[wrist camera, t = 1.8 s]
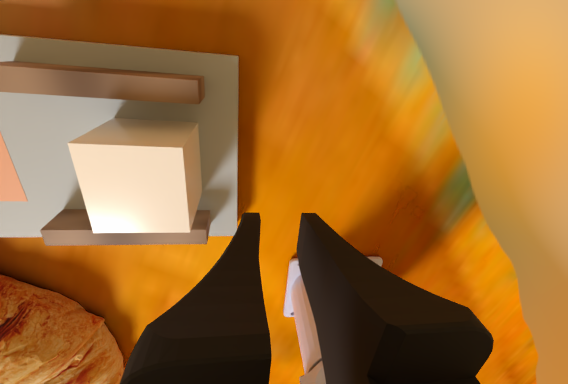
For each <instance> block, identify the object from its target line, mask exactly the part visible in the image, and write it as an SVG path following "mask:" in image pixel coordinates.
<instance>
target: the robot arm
mask: <svg viewBox="0 0 568 384" xmlns="http://www.w3.org/2000/svg"><path fill="white" fill-rule="evenodd" d="M260 223H261V220H260V215H259V213H244V214H243V215H242V218H241V222H240V224H239V226H238V229H237V231H236V233H235V235H234V237H233V238H232V240H231V242H230V244H229V245H228V247H227V248H226V250H225V251H224V253H223V254H222V256H221V257H220V259H219V260H218V261H217V263H216V264H215V265H214V266H213V267H212V269H211V270H210V271H209V272H208V273H207V274H206V275H205V277H204V278H203V279H202V280H201V281H200V282H199V283H198V284H197V285H196V286H195V287H194V288H193V289H192V290H191V291H190V292H189V293H187V294H186V295H185V296H184V297H183V298H182V299H181V300H180V301H179V302H177V303H176V304H175V305H174V306H173V307H171V308H170V309H169V310H167V311H166V312H165V313H163V314H162V315H161V316H160V317H158V318H157V319H156V320H154V321H153V322H151V323H150V324H148V325H147V326H146V328H145V329H144V331H143V333H142V335H141V336H140V338H139V340H138V342H137V344H136V345H135V347H134V349H133V351H132V353H131V355H130V357H129V360H128V362H127V365H126V367H125V370H124V373H123V375H122V378H121V381H120V384H269V376H270V366H271V344H270V333H269V328H268V323H267V317H266V311H265V305H264V299H263V291H262V284H261V276H260V266H259V241H260ZM297 256H298V258H293V259H291V260H290V262H289V270H288V278H287V286H286V294H285V303H284V311H283V312H284V316H286V317H295V323H296V328H297V334H298V339H299V344H300V350H301V355H302V361H303V366H304V372H305V375H303V376H301V377H300V384H480V383H479V381H478V380H477V378H476V377H475V376H476V374H477V373H478V372H479V370H480V369H481V367H482V366H483V365H484V363H485V362H486V360H487V359H488V358H489V356H490V354H491V352H492V349H493V341H494V340H493V338H492V335H491V333H490V332H489V331H488V330H487V329H486V328H485V326H484V325H483V324H482V323H481V322H480V321H479V319H478V318H477V317H476V316H475V315H474V314H473V312H472V311H471V310H470V309H469V308H468V307H465V306H463V305H460V304H457V303H455V302H452V301H450V300H447V299H445V298H442V297H440V296H437V295H435V294H432V293H430V292H428V291H426V290H424V289H422V288H419V287H417V286H415V285H413V284H411V283H409V282H407V281H405V280H403V279H402V278H400V277H398V276H396V275H394V274H393V273H391V272H389V271H387V270H386V269H384V268H382V267H381V266H382V263H383V260H382V258H381V257H366V256H364V255H363V254H362V253H360V252H359V251H358V250H356V249H355V248H354V247H353V246H351V245H350V244H349V243H348V242H346V241H345V240H344V239H343V238H342V237H341V236H339V235H338V234H337V233H336V232H335V231H334V230H333V229H332V228H331V227H330V226H329V225H328V224H326V223H325V222H324V221H323V220H322V219H321V218H320V217H319V216H318V215H317V214H316V213H302V214H301V221H300V229H299V236H298V243H297ZM298 263H299V264H298Z"/></svg>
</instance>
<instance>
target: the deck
mask: <svg viewBox="0 0 568 384" xmlns="http://www.w3.org/2000/svg"><path fill="white" fill-rule="evenodd" d="M5 61H21V62H33V63H46V64H59V65H71V66H84V67H97V68H109V69H122V70H135V71H147V72H160V73H173V74H185V75H198V76H204V86H205V98H204V99H203V100H202V101H201V103H200V104H183V103H167V102H151V101H136V100H120V99H104V98H88V97H73V96H57V95H41V94H25V93H10V92H0V237H42V235H41V232H40V230H41V229H42V228H43V227H44V226H45V225H46V224H47V223H48V222H49V221H51V220H52V219H53V218H54V217H55V216H56V215H57V214H58V213H60V212H61V211H62V210H63V209H86V206H85V202H84V199H83V196H82V192H81V189H80V185H79V182H78V178H77V175H76V171H75V168H74V164H73V161H72V158H71V154H70V151H69V147H68V144H67V143H69V142H71V141H72V140H74V139H76V138H78V137H80V136H82V135H83V134H85V133H87V132H89V131H91V130H93V129H94V128H96V127H98V126H100V125H102V124H104V123H105V122H107V121H109V120H111V119H113V118H125V119H144V120H162V121H181V122H198V129H199V146H200V163H201V179H202V194H201V197H200V201H199V204H198V207H197V210H210V218H211V225H210V230H209V235H208V236H234V235H235V233H236V231H237V214H238V96H239V56H237V55H226V54H215V53H204V52H193V51H182V50H171V49H160V48H149V47H138V46H128V45H117V44H106V43H95V42H84V41H73V40H62V39H51V38H40V37H29V36H18V35H7V34H0V62H5Z"/></svg>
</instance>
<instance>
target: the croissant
mask: <svg viewBox="0 0 568 384" xmlns="http://www.w3.org/2000/svg"><path fill="white" fill-rule="evenodd" d="M104 321H105V319H104V318H103V317H100V316H96V315H94V314H92V313H88V312H86V310H85V309H84V308H83V307H82V306H81V305H80V304H79V303H77V302H76V301H74V300H72V299H69V298H67V297H65V296H63V295H61V294H60V293H57V292H53V291H50V290H47V289H42V288H38V287H36V286H33V285H30V284H27V283H24V282H20V281H17V280H15V279H14V278H11V277H8V276H5V275H1V274H0V384H120V381H121V378H122V375H123V373H124V367H123V356H122V354H121V350H119V348H118V345H117V343H116V340H115V338H114V337H113V335H112V334H111V333H110V331H109V330H108V328H107V327H106V325H105V323H104Z"/></svg>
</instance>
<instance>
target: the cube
mask: <svg viewBox="0 0 568 384" xmlns="http://www.w3.org/2000/svg"><path fill="white" fill-rule="evenodd" d="M67 144H68V147H69V151H70V154H71V158H72V161H73V164H74V168H75V171H76V175H77V178H78V182H79V185H80V189H81V192H82V196H83V199H84V202H85V206H86V209H87V213H88V216H89V220H90V223H91V227H92V230H93V233H190V231H191V228H192V224H193V221H194V217H195V214H196V211H197V207H198V204H199V201H200V197H201V194H202V179H201V163H200V146H199V129H198V122H181V121H162V120H144V119H125V118H113V119H111V120H109V121H107V122H105V123H104V124H102V125H100V126H98V127H96V128H94V129H93V130H91V131H89V132H87V133H85V134H83V135H82V136H80V137H78V138H76V139H74V140H72V141H71V142H69V143H67Z"/></svg>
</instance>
